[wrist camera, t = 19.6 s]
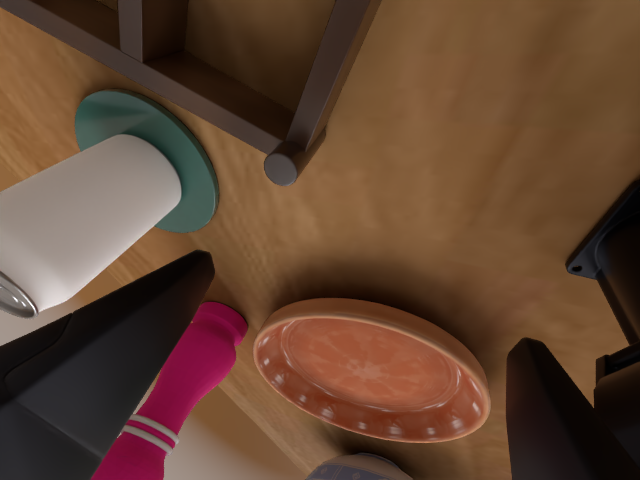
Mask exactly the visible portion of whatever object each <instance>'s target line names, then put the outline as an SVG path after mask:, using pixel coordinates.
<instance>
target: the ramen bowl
mask: <svg viewBox="0 0 640 480" xmlns="http://www.w3.org/2000/svg"><path fill="white" fill-rule="evenodd" d="M306 480H414V479H412V478H411V477H410V476H408V475H407V474H406V473H404V472H403V471H401V470H400V469H399V467H398V466H397V465H396V464H394V463H393V462H392V461H390V460H388V459H386V458H383V457H381V456H378V455H375V454H369V453H358V454H355V455H343V456H338V457H335V458H333V459H330V460H328V461H325V462H323V463H322V464H321V465H320V466H318V467H317V468H316V469H315V470H314V471H313V472H312V473H311V474H310V475H309V476H308V477H307V478H306Z"/></svg>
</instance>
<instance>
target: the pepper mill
mask: <svg viewBox="0 0 640 480" xmlns="http://www.w3.org/2000/svg"><path fill="white" fill-rule="evenodd" d="M192 321H193V323H190V324H189V326H188V328H187V329H186V331H185V332H184V334H183V335H182V337H181V339H180V340H179V342H178V343H177V345H176V346H175V348H174V349H173V351H172V353H171V354H170V356H169V357H168V359H167V360H166V362H165V364H164V365H163V367H162V369H161V372H160V375H159V378H158V380H157V383H156V385H155V387H154V389H153V391H152V392H151V394H150V396H149V397H148V399H147V400H146V402H145V403H144V404H143V405H142V407H141V408H140V409H139V410H138V412H137V413H136V414H132V415H131V417H130V418H129V420H128V421H127V423H126V425H125V426H124V428H123V429H122V431H121V433H122V434H121V435H120V436H119V437H118V438H117V439H116V440H115V442H114V443H113V445H112V446H111V448H110V450H109V451H108V453H107V454H106V456H105V457H104V459H103V461H102V462H101V464H100V466H99V467H98V469H97V470H96V472H95V473H94V475H93V477H92V478H91V480H163V478H164V459H165V456H166V455H168V456H169V455H171V454H172V453H173V448H174V447H175V444H177V443H178V442H179V437H178V436H177V435H178V433H179V431H180V429H181V427H182V424H183V422H184V421H185V419H186V418H187V416H188V415H189V413H190V411H191V410H192V409H193V407H194V406H195V405H196V404H197V403H198V401H199V400H200V399H201V398H202V397H203V396H205V395H206V394H207V393H208V392H209V391H210V390H212V389H213V388H214V387H215V386H216V385H218V384H219V383H220V382H221V381H222V380H223V379H224V378H225V377H226V375H227V374H228V373H229V372H230V370H231V368H232V367H233V365H234V363H235V361H236V351H235V346H237V345H239V344H240V343H241V342H242V340H243V338H244V336H245V334H246V332H247V324H246V322H245V320H244V319H243V317H242V316H241V315H240V314H239V313H237V312H236V311H235V310H233V309H232V308H230V307H228V306H226V305H223V304H221V303H217V302H205V303H203V304H201V306H200V307H199V308H198V310H197V312H196V314H195V316H194V318H193V319H192Z"/></svg>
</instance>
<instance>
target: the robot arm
mask: <svg viewBox="0 0 640 480" xmlns="http://www.w3.org/2000/svg"><path fill="white" fill-rule="evenodd" d="M639 191H640V180H638V181H636V182H634V183H633V184H632V185H631V186H630V187H629V188H628V189H627V190H626V192H625V193H624V194H623V195H622V196H621V197H620V199H619V200H618V201H617V202H616V203H615V205H614V206H613V207H612V208H611V209H610V211H609V212H608V213H607V214H606V215H605V217H604V218H603V219H602V220H601V221H600V223H599V224H598V225H597V226H596V227H595V228H594V230H593V231H592V232H591V233H590V234H589V236H588V237H587V238H586V239H585V240H584V242H583V243H582V244H581V245H580V246H579V248H578V249H577V250H576V251H575V252H574V254H573V255H572V256H571V257H570V258H569V259H568V261H567V262H566V264H565V266H566V269H567V271H568V272H569V273H571V274H574V275H578V276H582V277H587V278H591V279H596V280H597V281H598V283H599V285H600V287H601V289H602V291H603V293H604V295H605V297H606V299H607V301H608V303H609V305H610V307H611V309H612V311H613V313H614V315H615V317H616V319H617V321H618V323H619V325H620V327H621V329H622V331H623V333H624V335H625V337H626V339H627V341H628V343H629V345H630V346H628V347H626V348H624V349H622V350H620V351H618V352H616V353H613V354H611V355H604V356H602V357H600V358H598V359H596V387H595V389H594V408H593V407H592V405H591V404H590V403H589V401H588V400H587V399H586V398H585V396H584V395H583V394H582V392H581V391H580V390H579V388H578V387H577V386H576V385H575V383H574V382H573V381H572V379H571V378H570V377H569V375H568V374H567V373H566V371H565V370H564V369H563V368H562V366H561V365H560V364H559V362H558V361H557V360H556V358H555V357H554V356H553V355H552V353H551V352H550V351H549V349H548V348H547V347H546V345H545V344H544V343H542V342H541V341H538V340H535V339H531V338H527V337H525V338H522V339H521V340H520V341H519V342H518V343H517V344H516V345H515V346H514V348H513V349H512V350H511V351H510V352H509V354H508V356H507V371H506V423H507V434H508V443H509V453H510V462H511V472H512V480H640V192H639ZM574 266H578V267H574ZM214 275H215V268H214V264H213V260H212V256H211V254H210V253H209V252H206V251H203V250H195V251H193V252H191V253H189V254H187V255H185V256H183V257H181V258H179V259H177V260H175V261H173V262H171V263H169V264H167V265H165V266H163V267H161V268H159V269H157V270H155V271H153V272H151V273H149V274H147V275H145V276H143V277H141V278H139V279H137V280H135V281H133V282H131V283H129V284H127V285H125V286H123V287H121V288H119V289H117V290H115V291H113V292H111V293H109V294H108V295H105V296H103V297H102V298H99V299H98V300H96V301H94V302H92V303H90V304H88V305H86V306H84V307H82V308H80V309H78V310H76V311H74V312H73V313H70V314H68V315H66V316H64V317H62V318H60V319H58V320H56V321H54V322H52V323H50V324H47V325H46V326H43V327H41V328H39V329H37V330H35V331H33V332H31V333H29V334H27V335H24V336H22V337H20V338H18V339H15V340H13V341H11V342H9V343H6V344H4V345H2V346H0V480H91V478H92V477H93V475H94V473H95V472H96V470H97V469H98V467H99V466H100V464H101V462H102V461H103V459H104V457H105V456H106V454H107V453H108V451H109V450H110V448H111V446H112V445H113V443H114V442H115V440H116V439H117V437H118V435H119V434H120V432H121V431H122V429H123V428H124V426H125V425H126V423H127V421H128V420H129V418H130V417H131V415H132V414H133V412H134V410H135V409H136V407H137V406H138V404H139V403H140V401H141V400H142V398H143V396H144V395H145V393H146V392H147V390H148V389H149V387H150V385H151V384H152V382H153V381H154V379H155V378H156V376H157V374H158V373H159V371H160V370H161V368H162V367H163V365H164V364H165V362H166V360H167V359H168V357H169V356H170V354H171V353H172V351H173V349H174V348H175V346H176V345H177V343H178V342H179V340H180V339H181V337H182V335H183V334H184V332H185V331H186V329H187V328H188V326H189V324H190V323H191V321H192V319H193V318H194V316H195V314H196V312H197V310H198V308H199V306H200V304H201V302H202V300H203V298H204V296H205V294H206V292H207V290H208V288H209V286H210V284H211V282H212V280H213V278H214Z"/></svg>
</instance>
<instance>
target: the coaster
mask: <svg viewBox="0 0 640 480" xmlns="http://www.w3.org/2000/svg"><path fill="white" fill-rule="evenodd" d="M75 134H76V138H77V142H78V145H79V148H80V151H81V152H82V151H84V150H86V149H88V148H90V147H92V146H94V145H96V144H98V143H100V142H102V141H104V140H106V139H109V138H111V137H113V136H116V135H120V134H126V135H132V136H135V137H138V138H141V139H143V140H146V141H147V142H149V143H151V144H152V145H154V146H155V147H157V148H158V149H159V150H160V151H161V152H162V153H163V154H164V155H165V156H166V157H167V158H168V159H169V160H170V162H171V163H172V164H173V166H174V168H175V169H176V171H177V173H178V176H179V179H180V182H181V199H180V201H179V203H178V204H177V205H176V206H175V207H174V208H173V209H172V210H171V211H170V212H169V213H168V214H167V215H166V216H164V217H163V218H162V219H161V220H160V221H159V222H158V223H157V224H155V225H154V226H155V227H157V228H160V229H163V230H166V231H170V232H177V233H188V232H194V231H196V230H199V229H201V228H202V227H204V226H205V225H206V224H207V223H208V222H209V221H210V220H211V219H212V218H213V216H214V215H215V213H216V210H217V207H218V202H219V189H218V182H217V178H216V175H215V172H214V169H213V167H212V164H211V162H210V160H209V158H208V156H207V154H206V153H205V151H204V150H203V148H202V146H201V145H200V143H199V142H198V141H197V139H196V138H195V137H194V135H193V134H192V133H191V132H190V131H189V130H188V129H187V127H186V126H185V125H184V124H183V123H182V122H181V121H180V120H179V119H177V118H176V117H175V116H174V115H173V114H172V113H170V112H169V111H168V110H167V109H165V108H164V107H162V106H161V105H159V104H158V103H156V102H155V101H153V100H151V99H149V98H147V97H145V96H143V95H140V94H138V93H135V92H132V91H128V90H124V89H115V88H112V89H104V90H101V91H98V92H95V93H92V94H90V95H89V96H87V97H86V98H85V99H84V100H83V101H82V102H81V103H80V105H79V107H78V108H77V112H76V115H75Z"/></svg>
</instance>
